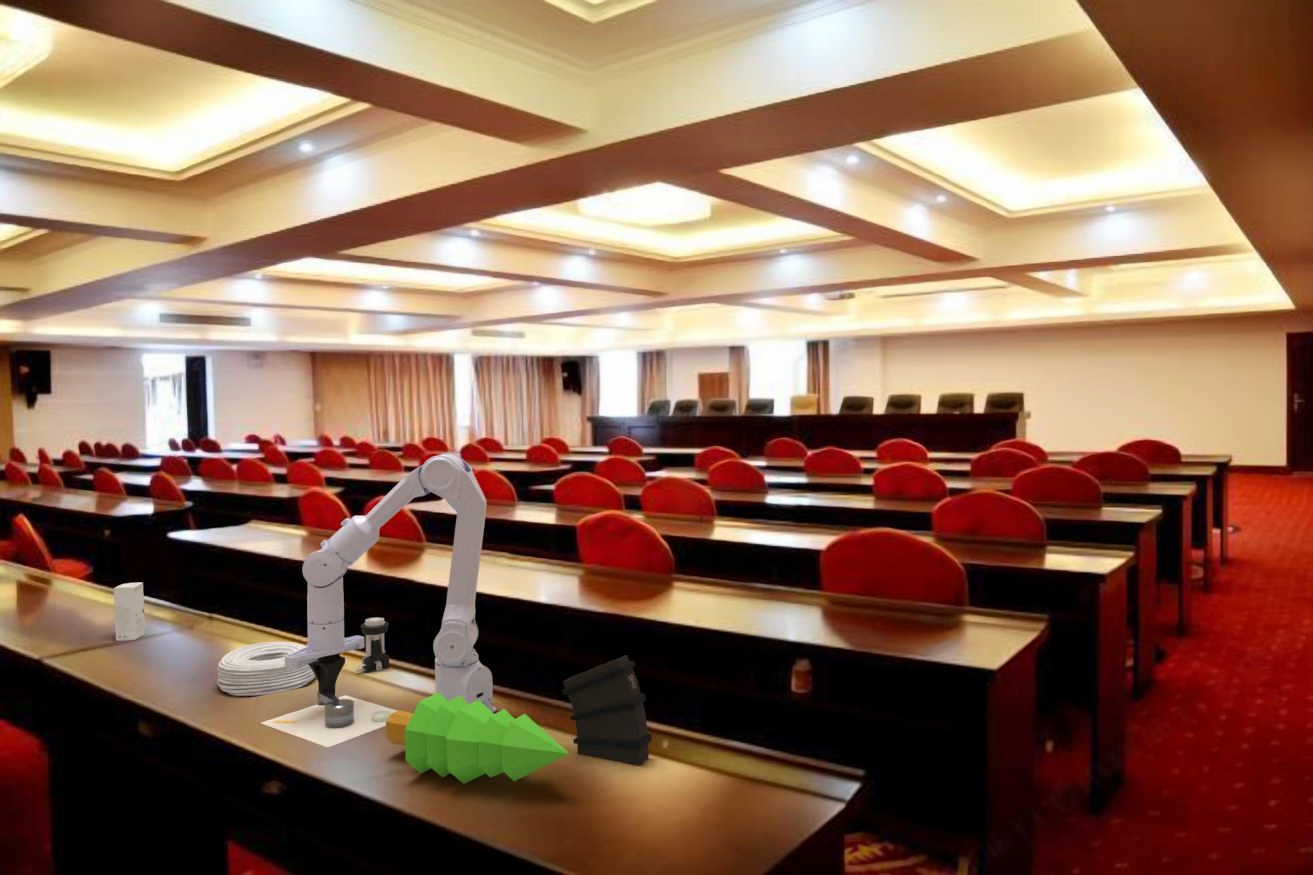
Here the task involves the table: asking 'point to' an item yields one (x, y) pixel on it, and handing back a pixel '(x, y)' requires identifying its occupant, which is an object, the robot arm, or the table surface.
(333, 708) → the grey crank handle
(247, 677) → the cable
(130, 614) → the skincare box
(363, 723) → the white paper sheet
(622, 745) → the magazine
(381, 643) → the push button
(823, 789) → the table surface
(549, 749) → the decorative tree
